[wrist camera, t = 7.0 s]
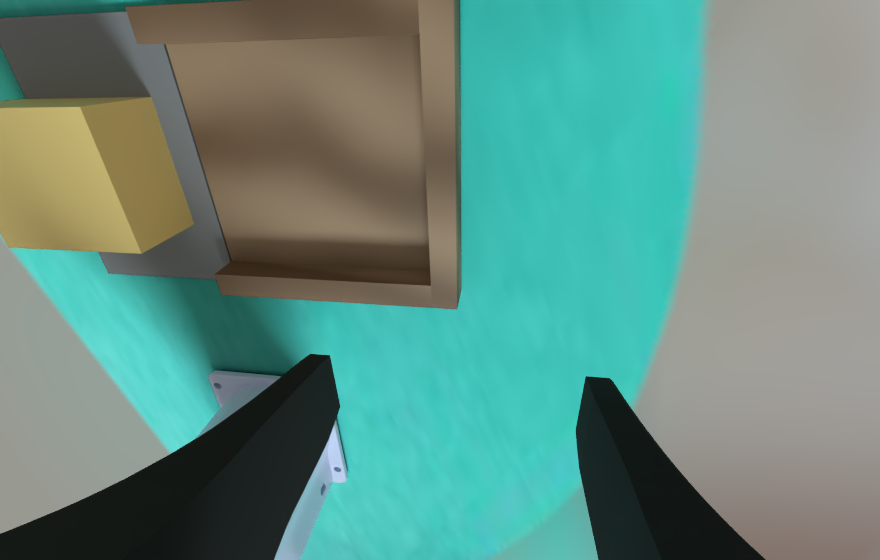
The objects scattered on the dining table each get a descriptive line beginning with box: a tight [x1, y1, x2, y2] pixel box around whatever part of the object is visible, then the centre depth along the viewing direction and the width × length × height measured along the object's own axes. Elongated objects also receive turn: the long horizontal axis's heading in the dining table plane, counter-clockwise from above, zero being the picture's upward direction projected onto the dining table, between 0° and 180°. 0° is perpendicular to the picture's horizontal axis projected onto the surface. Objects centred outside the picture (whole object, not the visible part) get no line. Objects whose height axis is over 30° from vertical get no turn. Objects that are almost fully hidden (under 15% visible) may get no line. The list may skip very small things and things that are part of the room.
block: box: [0, 97, 194, 254], centre depth 19 cm, size 6×7×4 cm
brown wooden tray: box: [125, 0, 461, 309], centre depth 18 cm, size 12×12×2 cm
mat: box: [0, 11, 232, 279], centre depth 20 cm, size 12×8×1 cm, turn 2°
